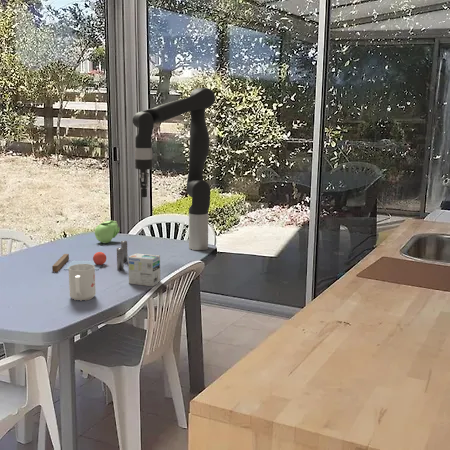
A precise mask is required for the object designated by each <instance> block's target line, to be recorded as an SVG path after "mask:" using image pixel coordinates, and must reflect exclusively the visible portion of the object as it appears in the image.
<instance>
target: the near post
mask: <svg viewBox="0 0 450 450" xmlns="http://www.w3.org/2000/svg"><path fill="white" fill-rule="evenodd" d="M116 268H117V271H124V270H125V269H124V268H125V267H124V262H123V248H121V247H117V248H116Z"/></svg>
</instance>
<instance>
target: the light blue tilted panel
mask: <svg viewBox="0 0 450 450" xmlns="http://www.w3.org/2000/svg"><path fill="white" fill-rule="evenodd" d="M77 264H91V265H94V266H95V271H99V270H100V269H101V267H102V265H97V264H95V263H94V261H93V260H71V261H70V262H69V264H68V265H66V267H65V268H64V269H63V270H64V271H69V267H70V266H72V265H77Z"/></svg>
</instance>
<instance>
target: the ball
mask: <svg viewBox="0 0 450 450" xmlns="http://www.w3.org/2000/svg"><path fill="white" fill-rule="evenodd" d="M92 261H94V263H95V264H97V265H101V266H103V265H104V264H105V263H106V261H107V256H106V253H104V252H101V251H97V252H95V253H94V254H93V257H92Z"/></svg>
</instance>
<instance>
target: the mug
mask: <svg viewBox="0 0 450 450" xmlns="http://www.w3.org/2000/svg"><path fill="white" fill-rule="evenodd" d="M95 271H96V270H95V266H94V265H91V264H77V265H72V266H70V267H69V270H68V285H69V286H68V288H69V297H70V298H71V299H72V300H73V299H74V301H76V300H80V301H79V302H83V301H82V300H85V301H89V300H92V299H93V298H94V297H95V296H96V293H97V291H96V272H95Z"/></svg>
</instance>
